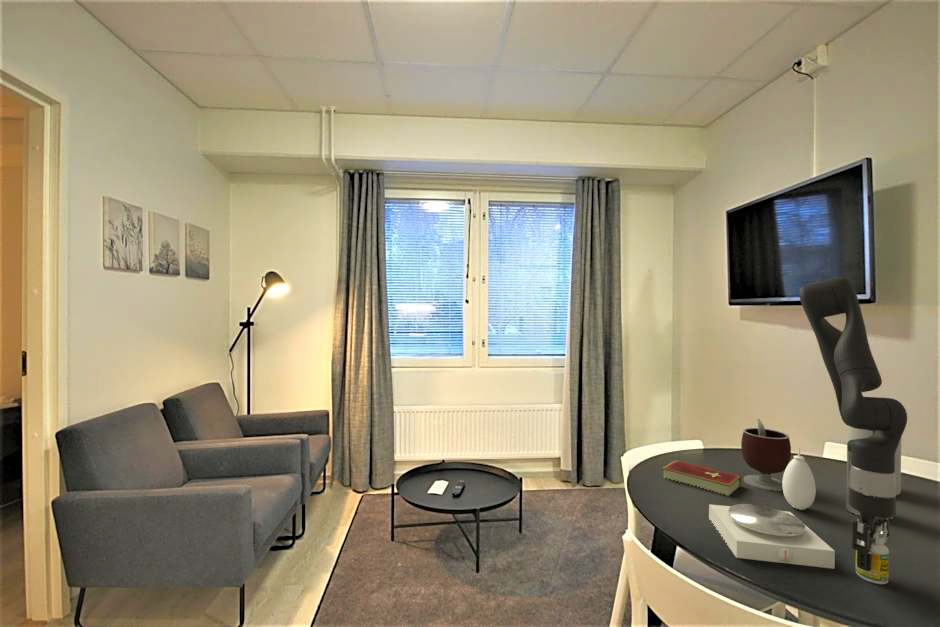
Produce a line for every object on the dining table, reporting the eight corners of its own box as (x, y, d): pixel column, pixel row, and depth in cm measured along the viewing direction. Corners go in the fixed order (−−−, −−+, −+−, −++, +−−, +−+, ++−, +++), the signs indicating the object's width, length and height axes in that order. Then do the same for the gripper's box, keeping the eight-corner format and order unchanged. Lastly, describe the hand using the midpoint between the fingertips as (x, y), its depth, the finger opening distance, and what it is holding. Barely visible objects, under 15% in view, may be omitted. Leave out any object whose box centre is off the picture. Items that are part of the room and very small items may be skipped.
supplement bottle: (860, 567, 100) (860, 525, 100) (892, 579, 95) (892, 535, 95) (851, 575, 97) (852, 531, 97) (884, 588, 92) (884, 542, 92)
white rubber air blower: (787, 512, 128) (787, 449, 128) (778, 501, 135) (779, 442, 135) (819, 516, 125) (820, 453, 125) (809, 505, 132) (810, 445, 132)
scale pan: (785, 510, 117) (785, 507, 117) (819, 540, 102) (819, 537, 102) (719, 504, 121) (719, 501, 121) (742, 532, 105) (742, 529, 105)
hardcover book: (675, 470, 162) (676, 459, 162) (740, 487, 146) (741, 475, 146) (662, 479, 153) (662, 467, 153) (729, 498, 138) (729, 484, 138)
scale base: (789, 526, 119) (790, 511, 119) (836, 570, 99) (836, 552, 99) (708, 518, 123) (709, 504, 123) (737, 559, 103) (737, 541, 103)
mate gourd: (797, 494, 140) (798, 431, 140) (747, 488, 145) (747, 427, 145) (780, 477, 155) (781, 420, 155) (735, 472, 159) (736, 417, 159)
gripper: (861, 477, 103) (860, 546, 103) (838, 489, 95) (836, 564, 95) (905, 488, 97) (904, 561, 97) (884, 502, 89) (883, 582, 89)
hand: (871, 563), depth 96 cm, fingers open, 8 cm apart
